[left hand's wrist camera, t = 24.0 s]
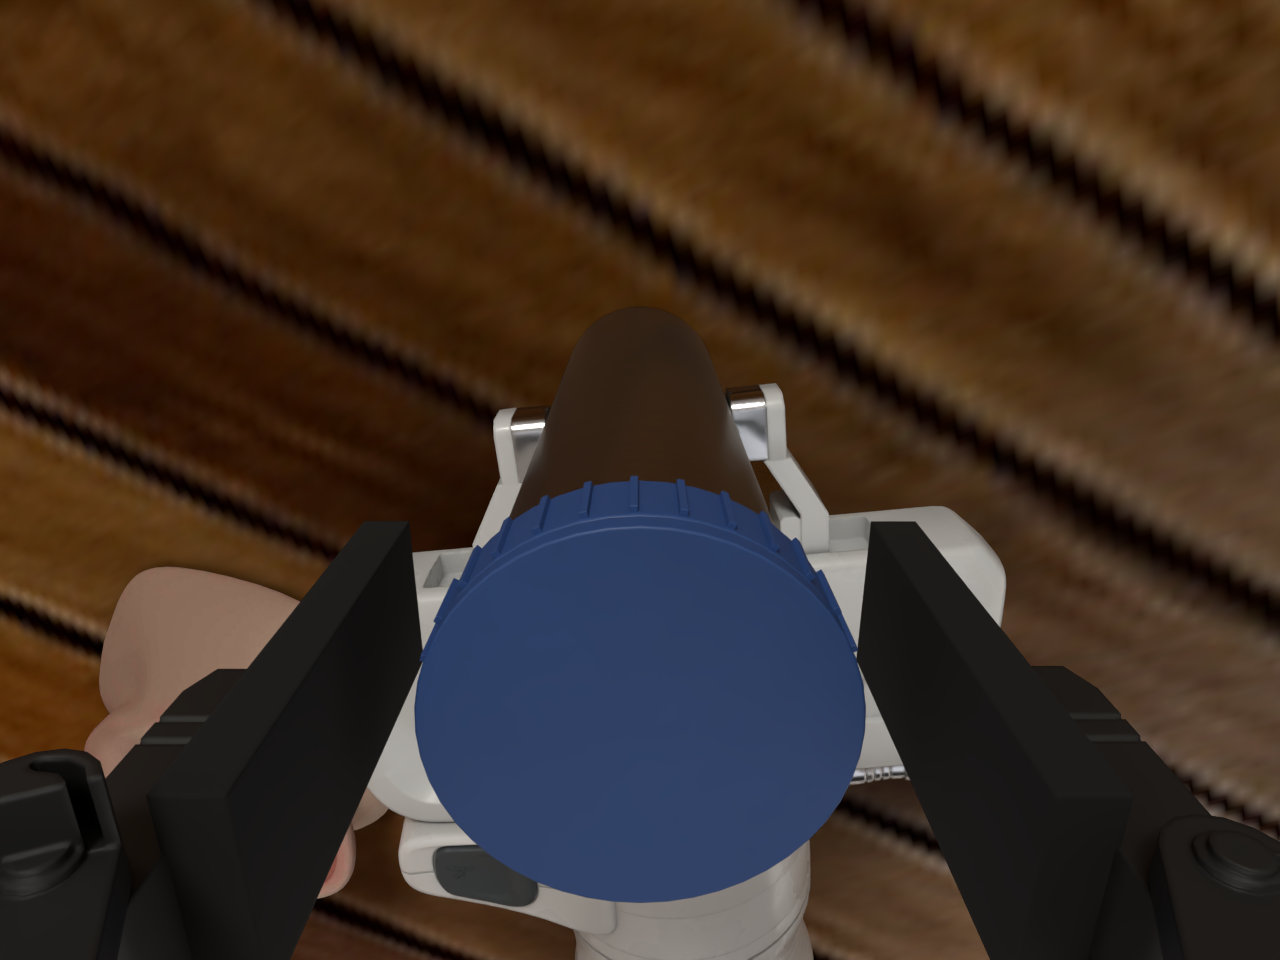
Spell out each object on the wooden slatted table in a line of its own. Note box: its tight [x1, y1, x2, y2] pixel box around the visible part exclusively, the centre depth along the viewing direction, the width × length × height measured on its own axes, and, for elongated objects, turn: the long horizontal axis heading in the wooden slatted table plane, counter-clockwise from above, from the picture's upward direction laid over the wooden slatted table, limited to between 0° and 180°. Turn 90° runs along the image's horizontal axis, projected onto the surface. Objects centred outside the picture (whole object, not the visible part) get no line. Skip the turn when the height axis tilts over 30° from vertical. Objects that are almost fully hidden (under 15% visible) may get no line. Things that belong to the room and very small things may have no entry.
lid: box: [414, 476, 866, 903], centre depth 11 cm, size 6×6×2 cm
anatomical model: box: [85, 567, 388, 898], centre depth 32 cm, size 13×4×12 cm
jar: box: [509, 307, 774, 525], centre depth 20 cm, size 5×5×19 cm
